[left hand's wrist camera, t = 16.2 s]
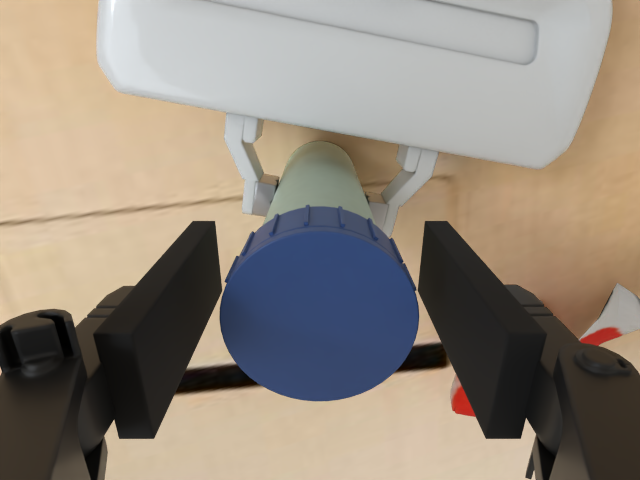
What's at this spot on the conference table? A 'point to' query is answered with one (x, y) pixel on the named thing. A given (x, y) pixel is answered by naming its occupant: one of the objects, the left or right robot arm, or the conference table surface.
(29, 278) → the conference table surface
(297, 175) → the green bottle
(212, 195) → the conference table surface
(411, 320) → the lid
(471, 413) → the fish
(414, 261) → the conference table surface
